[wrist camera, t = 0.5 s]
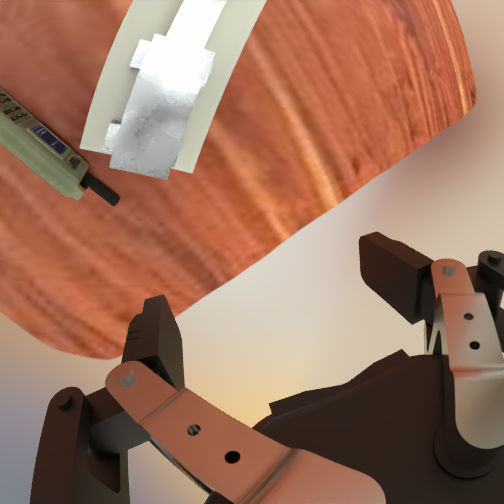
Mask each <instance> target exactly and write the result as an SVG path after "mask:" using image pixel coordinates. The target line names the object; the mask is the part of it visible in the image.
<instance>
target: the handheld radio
mask: <svg viewBox="0 0 504 504" xmlns="http://www.w3.org/2000/svg"><path fill="white" fill-rule="evenodd" d="M0 143H1V144H2V145H3V146H4V147H5V148H6V149H7V150H9V151H10V152H11V153H12V154H13V155H14V156H16V157H17V158H18V159H19V160H20V161H21V162H23V163H24V164H25V165H26V166H27V167H29V168H30V169H31V170H32V171H33V172H35V173H36V174H37V175H38V176H40V177H41V178H42V179H43V180H45V181H46V182H47V183H48V184H50V185H51V186H52V187H53V188H55V189H56V190H57V191H58V192H60V193H61V194H62V195H64V196H65V197H72V198H73V199H75V200H77V201H78V200H79V199H80V198H81V197H82V195H83V194H84V190H86V189H87V188H88V186H89V187H90V188H91V189H92V190H93V191H94V192H96V193H97V194H98V195H100V196H101V197H102V198H103V199H105V200H106V201H107V202H108V203H110V204H111V205H112V206H115V205H116V204H117V203H118V202H119V199H120V198H119V197H118V196H117V195H115V194H114V193H113V192H112V191H110V190H109V189H108V188H107V187H105V186H104V185H103V184H102V183H100V182H99V181H98V180H97V179H96V180H95V179H94V178H93V177H92V176H91V175H90V174H89V173H88V172H87V169H88V168H89V164H88V163H87V162H86V161H85V160H84V159H83V158H82V157H80V156H79V155H78V154H77V153H76V152H74V151H73V150H72V149H71V147H69V146H68V145H67V144H65V143H64V142H63V141H62V140H61V139H59V138H58V137H57V136H56V135H55V134H54V133H52V132H51V131H50V130H49V129H48V128H46V127H45V126H44V125H43V124H42V123H41V122H40V121H38V120H37V119H36V118H35V117H34V116H33V115H31V114H30V113H29V112H28V111H27V110H26V109H25V108H23V107H22V106H21V105H20V104H19V103H18V102H17V101H15V100H14V99H13V98H12V97H11V96H10V95H9V94H7V93H6V92H5V91H4V90H3V89H2V88H1V87H0Z"/></svg>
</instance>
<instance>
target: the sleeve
mask: <svg viewBox="0 0 504 504" xmlns="http://www.w3.org/2000/svg"><path fill="white" fill-rule="evenodd" d="M214 55H215V52H212V51H209V50H207V49H204V48H201V47H198V46H195V45H192V44H189V43H186V42H182V41H179V40H176V39H172V38H169V37H166V36H162V35H158V34H155V35H154V37H153V40H152V42H149V41H145V40H141V39H140V42H139V44H138V46H137V49H136V51H135V53H134V56H133V58H132V61H131V63H130V66H129V67H130V68H131V69H135V70H140V71H139V73H138V76H137V78H136V81H135V84H134V86H133V89H132V92H131V95H130V98H129V101H128V103H127V106H126V109H125V113H124V116H123V119H122V121H118V120H114V119H113V120H112V121H111V122H110V124H109V128H108V131H107V135H106V139H105V142H104V146H103V150H102V151H104V152H109V153H112V157H111V161H110V165H109V168H114V169H119V170H124V171H128V172H133V173H138V174H142V175H147V176H151V177H156V178H160V179H164V180H167V179H168V176H169V173H170V170H171V167H174V166H175V163H176V161H177V158H178V155H179V152H180V149H181V146H182V143H183V140H182V138H181V137H182V135H183V132H184V129H185V126H186V124H187V121H188V118H189V116H190V113H191V110H192V108H193V105H194V103H195V100H196V98H197V95H198V93H199V90H200V88H201V87H203V88H204V86H205V83H206V81H207V79H208V76H209V74H210V72H211V69H212V67H213V65H214V61H212V60H213V57H214Z"/></svg>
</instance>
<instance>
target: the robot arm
mask: <svg viewBox="0 0 504 504" xmlns="http://www.w3.org/2000/svg"><path fill="white" fill-rule="evenodd" d="M359 253H360V271H361V276H362V278H363V280H364V282H365V284H366V285H367V286H369V287H370V288H371V289H372V290H373V291H374V292H376V293H377V294H378V295H379V296H380V297H381V298H383V299H384V300H385V301H386V302H387V303H388V304H389V305H391V306H392V307H393V308H394V309H395V310H396V311H397V312H398V313H399V314H401V315H402V316H403V317H404V318H405V319H406V320H407V321H408V322H410V323H411V324H412V325H413V324H415V323H417V322H419V321H421V320H423V319H424V320H425V323H424V355H417V356H411V357H409V356H408V355H407V354H406V353H405V352H404V351H403V349H401V350H399V351H397V352H395V353H393V354H391V355H389V356H387V357H385V358H383V359H381V360H379V361H377V362H374V363H373V364H372V365H370V366H369V367H368V368H367V369H365V370H364V371H362V372H361V373H360V374H358V375H357V376H356V377H354V378H353V379H351V380H350V381H349V382H347V383H345V384H343V385H338V386H332V387H327V388H321V389H316V390H309V391H304V392H302V393H299V394H296V395H293V396H290V397H287V398H284V399H281V400H278V401H275V402H272V403H269V406H270V409H271V412H272V414H271V415H269V416H267V417H265V418H264V419H262V420H261V421H260V422H258V423H257V424H256V425H255V426H254V427H252V428H250V427H248V426H247V425H245V424H243V423H241V422H240V421H238V420H236V419H235V418H233V417H231V416H230V415H228V414H226V413H225V412H223V411H221V410H220V409H218V408H217V407H215V406H213V405H212V404H210V403H208V402H207V401H206V400H204V399H203V398H201V397H199V396H198V395H197V394H195V393H194V392H192V391H191V390H189V389H187V388H185V384H184V369H183V350H182V338H181V334H180V331H179V328H178V325H177V323H176V321H175V318H174V316H173V314H172V311H171V309H170V306H169V304H168V301H167V299H166V297H165V295H164V294H163V295H159V296H155V297H152V298H148V299H145V302H144V307H143V312H142V313H141V314H138V315H136V316H135V317H134V318H133V320H132V321H131V322H130V324H129V328H128V334H127V337H126V342H125V347H124V352H123V357H122V362H121V364H120V365H118V366H116V367H115V368H114V369H113V370H112V371H111V372H110V373H109V374H108V376H107V378H106V382H105V386H106V387H104V388H102V389H100V390H98V391H96V392H94V393H91V394H89V395H87V396H85V395H84V394H83V392H82V391H81V390H80V389H79V388H77V387H67V388H65V389H63V390H60V391H59V392H58V393H57V394H55V395H54V396H53V398H52V399H51V401H50V403H49V405H48V409H47V413H46V417H45V421H44V425H43V429H42V433H41V438H40V442H39V447H38V452H37V457H36V463H35V469H34V474H33V481H32V489H31V496H30V504H130V495H129V481H128V480H129V479H128V453H127V452H128V449H131V448H133V447H135V446H138V445H140V444H142V443H144V442H146V441H149V442H150V443H151V444H152V445H153V446H154V447H155V448H156V449H157V450H158V451H159V452H160V453H161V454H162V455H163V456H165V457H166V458H167V459H168V460H169V461H170V462H171V463H172V464H173V465H174V466H176V467H177V468H178V469H179V470H180V471H181V472H182V473H183V474H185V475H186V476H187V477H188V478H189V479H190V480H191V481H192V482H194V483H195V484H196V485H197V486H198V487H199V488H201V489H202V490H203V491H204V492H206V493H207V494H208V495H209V497H208V498H207V500H206V501H205V503H204V504H504V358H503V354H502V352H503V353H504V309H502V308H501V307H500V304H501V300H502V296H503V292H504V254H503V253H500V252H497V251H491V250H489V251H483V252H481V253H480V254H479V258H478V265H477V266H472V267H467V268H466V267H465V265H464V264H463V263H461V262H459V261H457V260H454V259H439V260H436V261H433V260H432V259H430V258H428V257H427V256H425V255H423V254H421V253H419V252H418V251H415V250H414V249H413V248H411V247H410V248H409V246H407V245H406V244H404V243H402V242H400V241H396V240H392V239H390V238H388V237H386V236H384V235H383V234H381V233H379V232H373V233H370V234H367V235H364V236H361V237H360V239H359Z"/></svg>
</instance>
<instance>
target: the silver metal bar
mask: <svg viewBox="0 0 504 504" xmlns="http://www.w3.org/2000/svg"><path fill="white" fill-rule="evenodd" d="M226 1H227V0H184V1H183V3H182V5H181V7H180V9H179V11H178V13H177V15H176V17H175V19H174V21H173V23H172V25H171V27H170V29H169V31H168V33H167V36H166V37H169V38H172V39H176V40H179V41H182V42H186V43H189V44H192V45H195V46H198V47H201V48H204V45H205V43H206V41H207V39H208V37H209V35H210V33H211V31H212V28H213V26H214V24H215V22H216V20H217V18H218V16H219V14H220V12H221V11H222V9H223V7H224V5H225V3H226Z"/></svg>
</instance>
